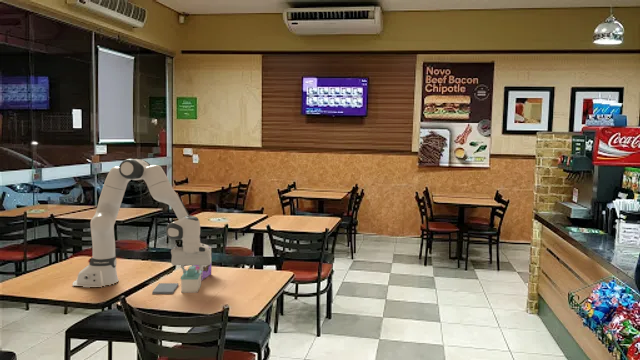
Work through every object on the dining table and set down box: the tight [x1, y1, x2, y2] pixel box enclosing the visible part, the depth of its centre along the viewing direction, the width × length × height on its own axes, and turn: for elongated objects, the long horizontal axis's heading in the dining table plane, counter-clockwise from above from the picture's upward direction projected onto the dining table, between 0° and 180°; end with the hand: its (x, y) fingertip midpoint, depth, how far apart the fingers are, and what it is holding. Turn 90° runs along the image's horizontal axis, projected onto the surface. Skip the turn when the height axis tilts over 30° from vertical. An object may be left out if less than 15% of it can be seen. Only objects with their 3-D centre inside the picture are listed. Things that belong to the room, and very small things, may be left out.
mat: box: [151, 282, 179, 295], centre depth 249 cm, size 10×14×1 cm
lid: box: [180, 265, 202, 280], centre depth 251 cm, size 9×13×5 cm
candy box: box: [191, 246, 212, 282], centre depth 272 cm, size 14×6×16 cm, turn 168°
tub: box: [180, 275, 202, 294], centre depth 251 cm, size 8×12×7 cm, turn 5°
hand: (191, 273), depth 251 cm, fingers open, 5 cm apart
